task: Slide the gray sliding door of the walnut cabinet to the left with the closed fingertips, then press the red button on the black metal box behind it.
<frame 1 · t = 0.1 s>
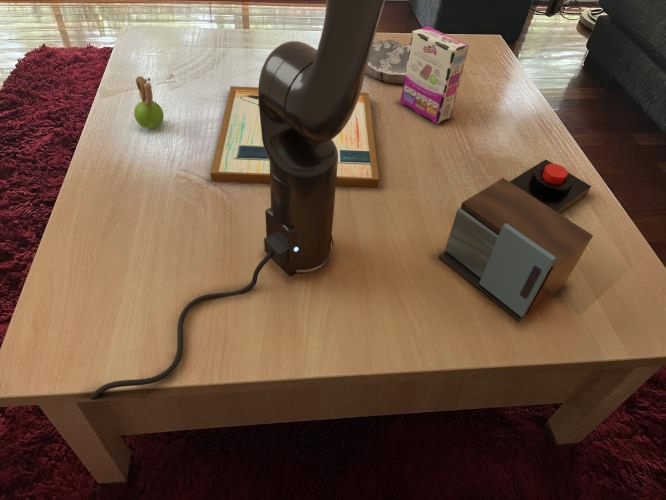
hand: (527, 5, 84), 29 cm above the table, tool pointing down, fingers open, 8 cm apart
snail figurine: (152, 128, 105), on the table
button box: (545, 193, 98), on the table
gray sliding door: (513, 272, 74), point 7 cm above the table, slide at 0.0 cm
candy bar box: (424, 111, 116), on the table
grey flat irregular slab: (390, 69, 128), on the table
start button: (554, 174, 95), point 4 cm above the table, slide at 0.1 cm
picture frame: (297, 137, 106), on the table
cabinet: (503, 268, 84), on the table
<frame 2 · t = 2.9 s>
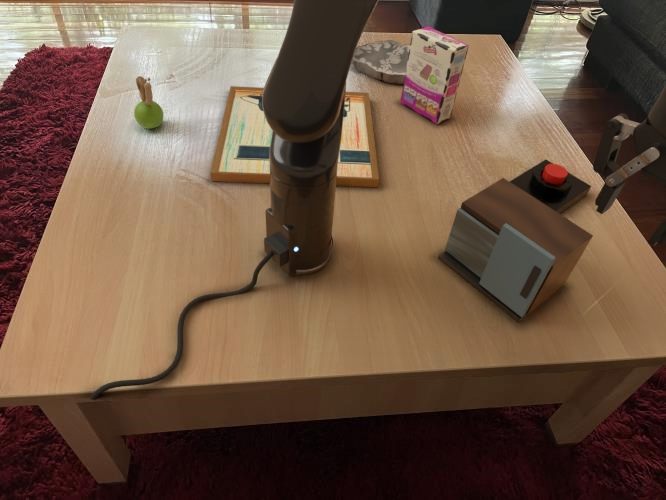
hand: (628, 225, 58), 24 cm above the table, tool pointing down, fingers open, 5 cm apart
nothing on the table moved.
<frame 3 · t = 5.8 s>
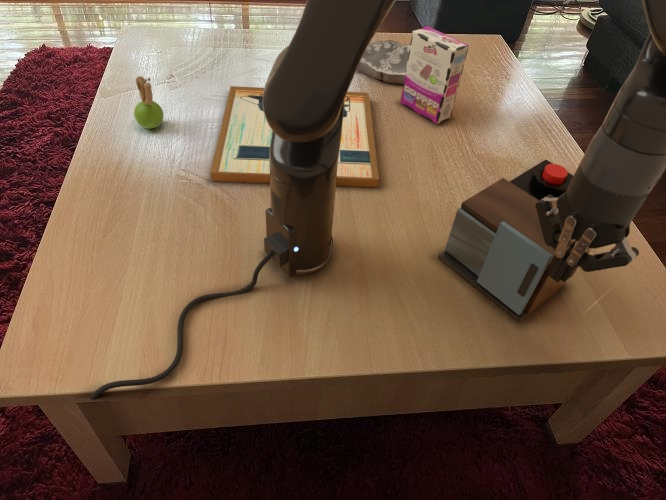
hand: (557, 276, 68), 11 cm above the table, tool pointing down, fingers closed
gray sliding door: (510, 270, 74), point 7 cm above the table, slide at 0.5 cm, touching gripper
everything else where it was.
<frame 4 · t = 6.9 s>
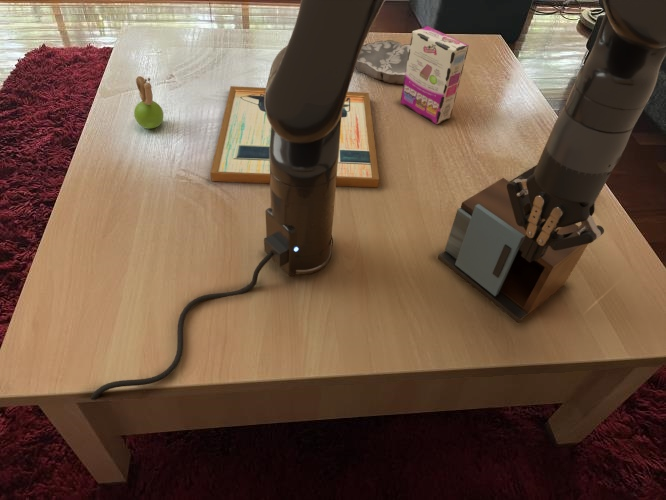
hand: (529, 256, 70), 11 cm above the table, tool pointing down, fingers closed
gray sliding door: (486, 251, 76), point 7 cm above the table, slide at 4.9 cm, touching gripper
everything else where it was.
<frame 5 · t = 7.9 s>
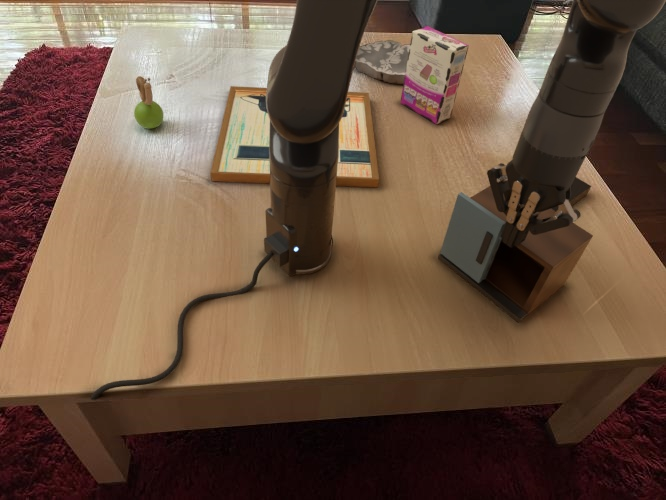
hand: (510, 242, 72), 11 cm above the table, tool pointing down, fingers closed
gray sliding door: (469, 239, 78), point 7 cm above the table, slide at 8.0 cm, touching gripper
everything else where it was.
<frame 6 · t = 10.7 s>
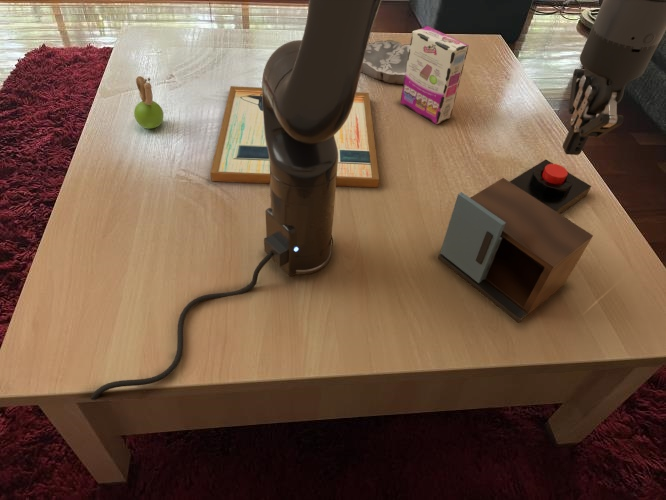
hand: (570, 151, 74), 19 cm above the table, tool pointing down, fingers closed
gray sliding door: (469, 239, 78), point 7 cm above the table, slide at 8.0 cm
everything else where it was.
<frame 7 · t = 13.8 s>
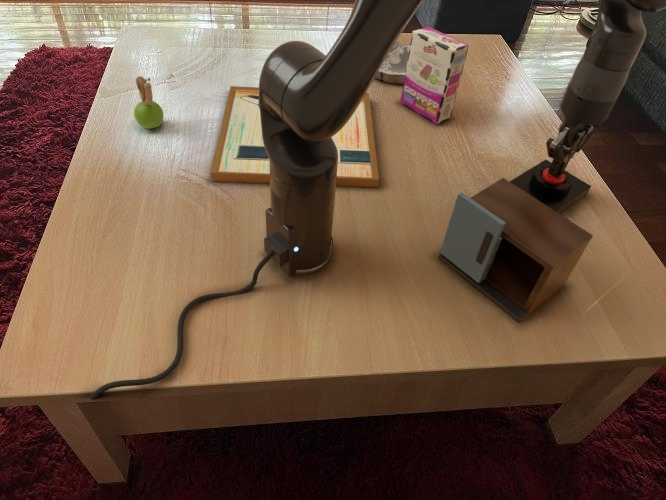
hand: (554, 174, 95), 4 cm above the table, tool pointing down, fingers closed
start button: (552, 178, 96), point 4 cm above the table, slide at -0.9 cm, touching gripper
everything else where it was.
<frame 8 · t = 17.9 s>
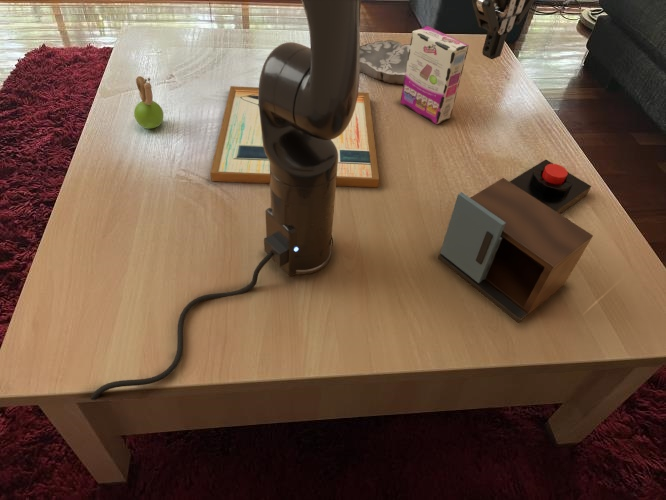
hand: (490, 56, 76), 27 cm above the table, tool pointing down, fingers closed
start button: (554, 174, 95), point 4 cm above the table, slide at 0.1 cm
everything else where it was.
at the end: gray sliding door slide at 8.0 cm; start button pushed in 1.1 cm at the most during the clip, back to where it started at the end; start button slide at 0.1 cm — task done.
